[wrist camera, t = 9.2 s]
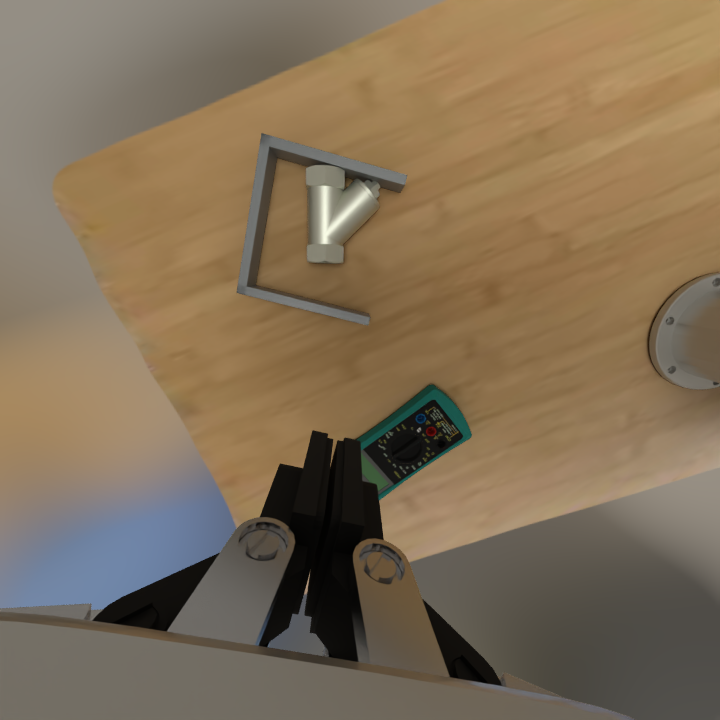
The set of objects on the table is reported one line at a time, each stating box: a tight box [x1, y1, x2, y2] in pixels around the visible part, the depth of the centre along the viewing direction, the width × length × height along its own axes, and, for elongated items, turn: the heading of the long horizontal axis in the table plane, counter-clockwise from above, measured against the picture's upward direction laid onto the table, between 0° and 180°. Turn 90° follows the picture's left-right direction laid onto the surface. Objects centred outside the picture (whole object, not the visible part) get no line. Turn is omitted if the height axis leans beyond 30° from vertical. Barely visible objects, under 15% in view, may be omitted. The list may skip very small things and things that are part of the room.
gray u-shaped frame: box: [237, 133, 407, 325], centre depth 32 cm, size 13×14×3 cm
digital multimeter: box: [356, 385, 472, 500], centre depth 38 cm, size 7×15×3 cm, turn 128°
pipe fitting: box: [306, 165, 380, 264], centre depth 31 cm, size 8×4×7 cm
